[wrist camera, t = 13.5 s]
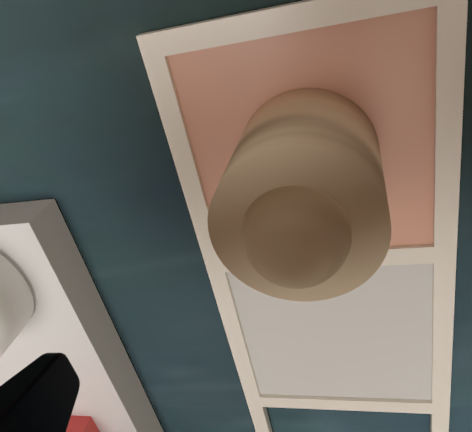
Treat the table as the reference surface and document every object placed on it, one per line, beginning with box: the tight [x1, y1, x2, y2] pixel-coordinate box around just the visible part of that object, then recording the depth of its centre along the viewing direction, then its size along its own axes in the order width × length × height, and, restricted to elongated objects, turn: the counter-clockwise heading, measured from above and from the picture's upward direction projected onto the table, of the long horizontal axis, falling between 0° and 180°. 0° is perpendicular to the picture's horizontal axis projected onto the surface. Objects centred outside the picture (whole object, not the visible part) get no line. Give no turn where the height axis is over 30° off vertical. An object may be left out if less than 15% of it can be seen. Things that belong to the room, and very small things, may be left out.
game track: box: [136, 0, 468, 432], centre depth 21 cm, size 29×10×1 cm, turn 12°
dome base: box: [0, 199, 164, 432], centre depth 23 cm, size 18×9×6 cm, turn 12°
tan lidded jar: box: [207, 88, 392, 302], centre depth 14 cm, size 5×5×6 cm
